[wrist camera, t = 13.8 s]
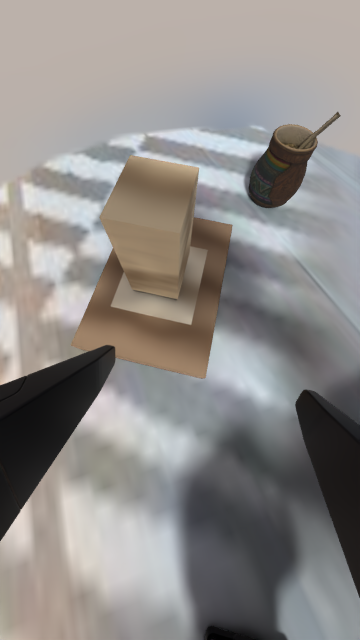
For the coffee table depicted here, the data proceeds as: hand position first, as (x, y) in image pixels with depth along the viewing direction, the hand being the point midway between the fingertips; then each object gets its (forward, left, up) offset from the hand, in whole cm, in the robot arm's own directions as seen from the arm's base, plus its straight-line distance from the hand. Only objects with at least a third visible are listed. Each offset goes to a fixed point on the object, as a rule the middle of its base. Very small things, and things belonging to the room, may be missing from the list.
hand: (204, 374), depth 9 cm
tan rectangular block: (+11, +6, -10) cm, 15 cm away
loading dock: (+10, +6, -12) cm, 17 cm away
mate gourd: (+30, -6, -12) cm, 34 cm away
